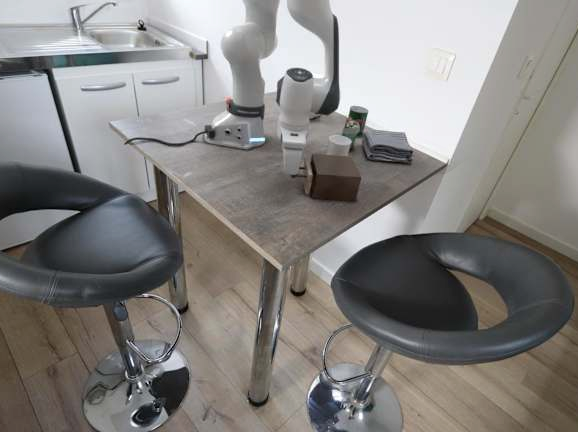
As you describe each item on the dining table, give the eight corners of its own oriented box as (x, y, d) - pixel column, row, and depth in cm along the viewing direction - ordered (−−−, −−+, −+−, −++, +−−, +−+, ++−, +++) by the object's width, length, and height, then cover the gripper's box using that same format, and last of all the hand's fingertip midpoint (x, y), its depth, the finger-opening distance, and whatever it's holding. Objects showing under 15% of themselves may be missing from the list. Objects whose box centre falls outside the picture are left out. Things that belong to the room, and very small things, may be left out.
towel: (359, 144, 145) (363, 126, 140) (401, 148, 147) (407, 131, 143) (367, 161, 132) (372, 142, 128) (412, 165, 135) (419, 147, 130)
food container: (353, 156, 134) (359, 131, 129) (338, 152, 135) (343, 128, 129) (356, 144, 145) (362, 120, 139) (341, 140, 145) (346, 117, 139)
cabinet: (312, 198, 106) (317, 173, 101) (308, 176, 117) (311, 153, 112) (355, 201, 108) (361, 177, 103) (346, 179, 119) (352, 156, 114)
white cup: (339, 173, 121) (345, 146, 116) (319, 165, 124) (324, 139, 118) (349, 165, 127) (355, 140, 121) (330, 158, 130) (335, 133, 124)
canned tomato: (362, 131, 157) (368, 107, 150) (362, 138, 150) (369, 113, 144) (344, 128, 157) (350, 104, 150) (344, 135, 150) (350, 110, 144)
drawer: (289, 193, 105) (292, 173, 101) (287, 173, 114) (289, 154, 111) (345, 196, 107) (349, 178, 104) (338, 177, 117) (342, 159, 113)
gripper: (280, 116, 107) (276, 156, 115) (282, 144, 91) (277, 189, 99) (300, 118, 108) (295, 158, 116) (306, 146, 92) (299, 191, 100)
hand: (287, 173), depth 107 cm, fingers closed, pressing on drawer
